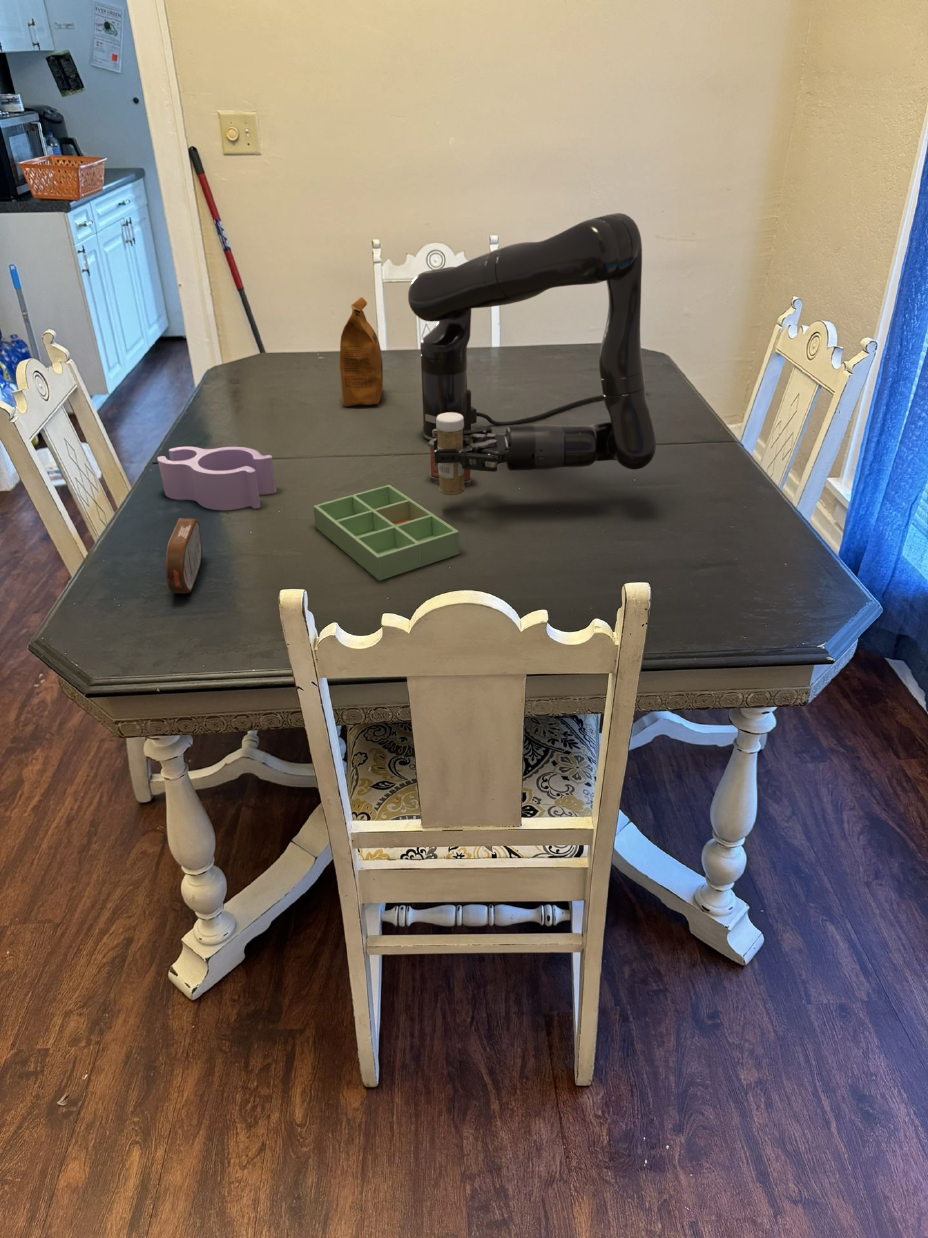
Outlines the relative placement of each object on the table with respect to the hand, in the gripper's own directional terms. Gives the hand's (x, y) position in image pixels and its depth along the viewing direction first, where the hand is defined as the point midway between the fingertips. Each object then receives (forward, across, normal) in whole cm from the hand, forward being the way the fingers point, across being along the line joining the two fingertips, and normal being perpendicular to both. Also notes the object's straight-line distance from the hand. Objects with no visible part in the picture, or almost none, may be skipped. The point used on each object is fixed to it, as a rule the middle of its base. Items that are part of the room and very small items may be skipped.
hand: (434, 450), depth 147 cm
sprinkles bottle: (-3, 0, +8) cm, 8 cm away
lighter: (-3, -13, +12) cm, 18 cm away
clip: (+40, -10, +12) cm, 43 cm away
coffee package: (+15, -60, +12) cm, 63 cm away
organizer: (+9, +10, +11) cm, 18 cm away
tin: (+39, +21, +11) cm, 45 cm away
